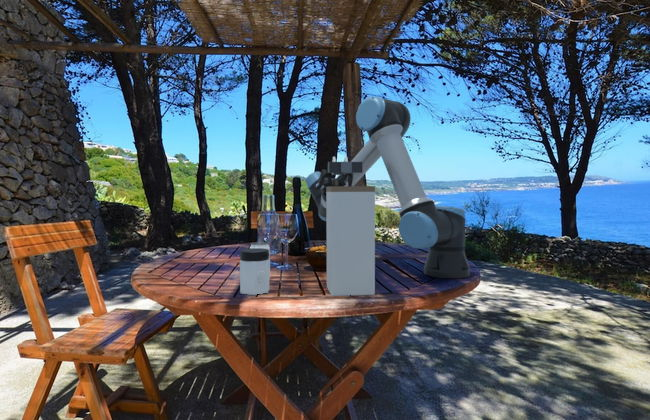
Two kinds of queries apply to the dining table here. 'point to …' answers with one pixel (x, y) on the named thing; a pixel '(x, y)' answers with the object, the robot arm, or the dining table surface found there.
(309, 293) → the dining table surface
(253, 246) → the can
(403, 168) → the robot arm
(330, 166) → the t handle
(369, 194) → the stand
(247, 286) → the jar
